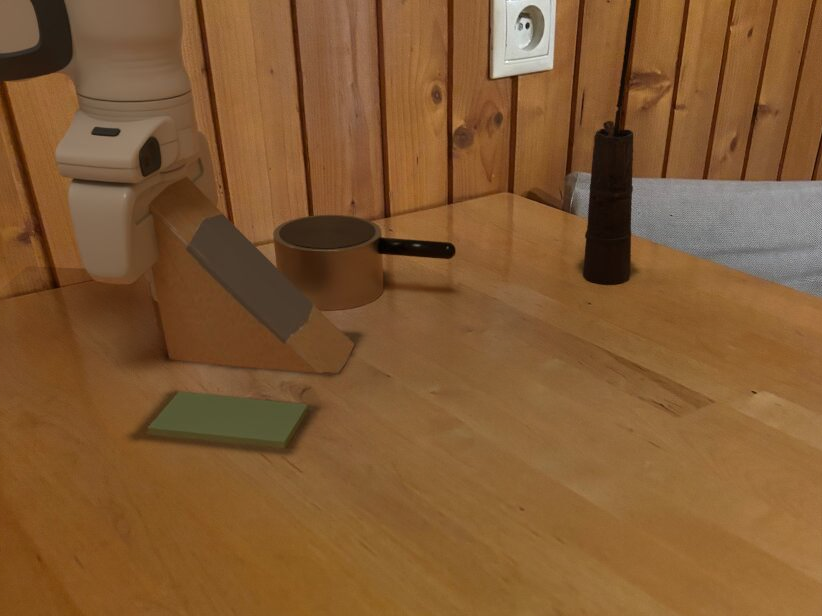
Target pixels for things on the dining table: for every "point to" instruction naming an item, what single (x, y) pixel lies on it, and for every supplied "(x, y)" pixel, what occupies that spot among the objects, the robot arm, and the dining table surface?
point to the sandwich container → (232, 294)
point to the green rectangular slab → (229, 419)
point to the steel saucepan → (342, 258)
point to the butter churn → (611, 194)
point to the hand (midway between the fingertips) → (168, 296)
